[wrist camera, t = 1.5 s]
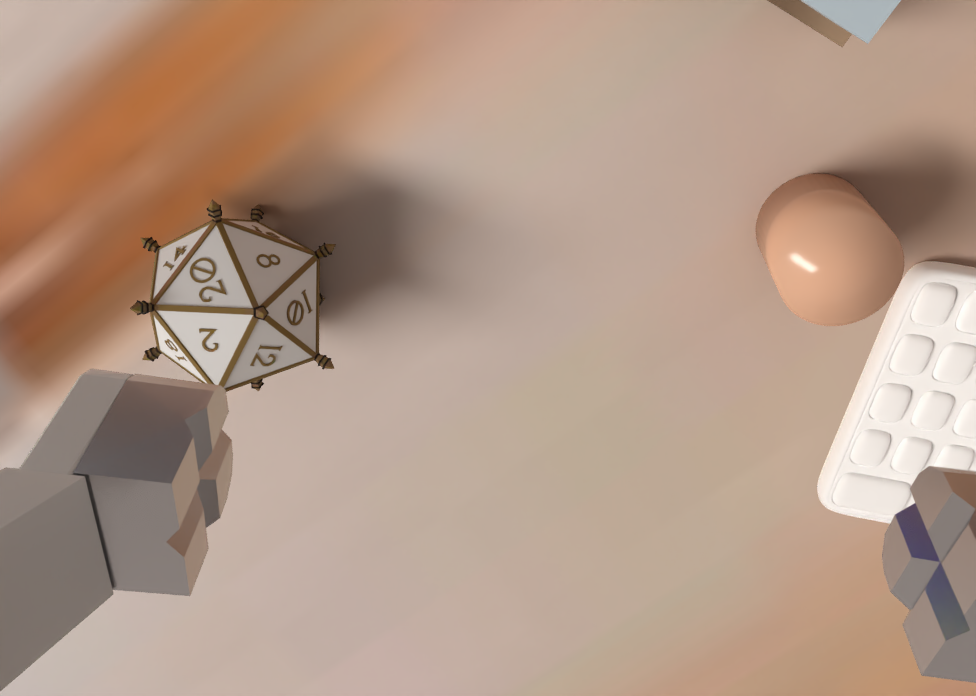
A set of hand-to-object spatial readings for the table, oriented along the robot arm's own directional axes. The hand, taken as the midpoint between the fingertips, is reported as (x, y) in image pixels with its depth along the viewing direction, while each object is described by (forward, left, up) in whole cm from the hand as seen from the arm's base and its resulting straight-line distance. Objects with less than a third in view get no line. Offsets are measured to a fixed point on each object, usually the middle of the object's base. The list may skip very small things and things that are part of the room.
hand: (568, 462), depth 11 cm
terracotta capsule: (-12, +2, -29) cm, 31 cm away
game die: (+8, +16, -29) cm, 34 cm away
